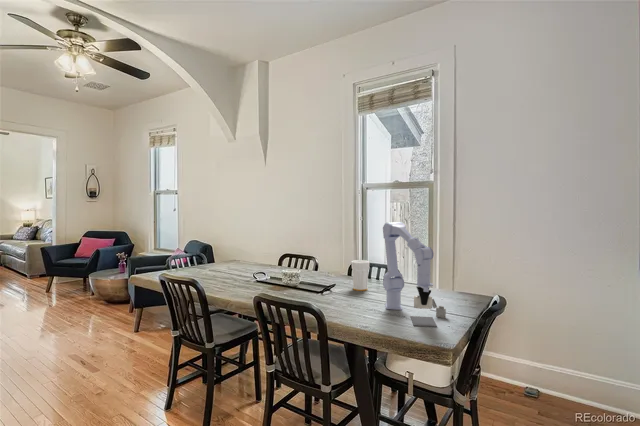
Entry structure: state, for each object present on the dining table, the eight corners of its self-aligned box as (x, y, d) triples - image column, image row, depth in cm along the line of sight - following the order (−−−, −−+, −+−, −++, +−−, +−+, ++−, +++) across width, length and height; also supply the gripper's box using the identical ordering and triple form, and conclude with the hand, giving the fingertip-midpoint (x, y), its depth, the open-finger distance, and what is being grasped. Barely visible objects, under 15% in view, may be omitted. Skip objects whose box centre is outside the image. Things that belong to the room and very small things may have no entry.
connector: (413, 306, 159) (413, 291, 159) (431, 306, 158) (431, 292, 158) (414, 308, 156) (414, 293, 156) (432, 308, 155) (432, 294, 155)
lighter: (445, 317, 164) (446, 300, 164) (444, 318, 163) (445, 301, 162) (430, 314, 168) (430, 298, 168) (429, 315, 167) (429, 299, 166)
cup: (373, 289, 215) (373, 261, 214) (359, 292, 208) (359, 263, 208) (361, 286, 224) (361, 259, 224) (347, 288, 218) (347, 261, 217)
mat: (410, 317, 164) (410, 316, 164) (432, 318, 163) (432, 317, 163) (413, 326, 152) (413, 325, 152) (437, 327, 151) (437, 326, 151)
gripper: (435, 277, 149) (435, 309, 150) (430, 271, 163) (429, 299, 164) (419, 277, 150) (418, 308, 151) (414, 270, 164) (414, 298, 165)
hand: (423, 303), depth 157 cm, fingers closed on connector, 3 cm apart
